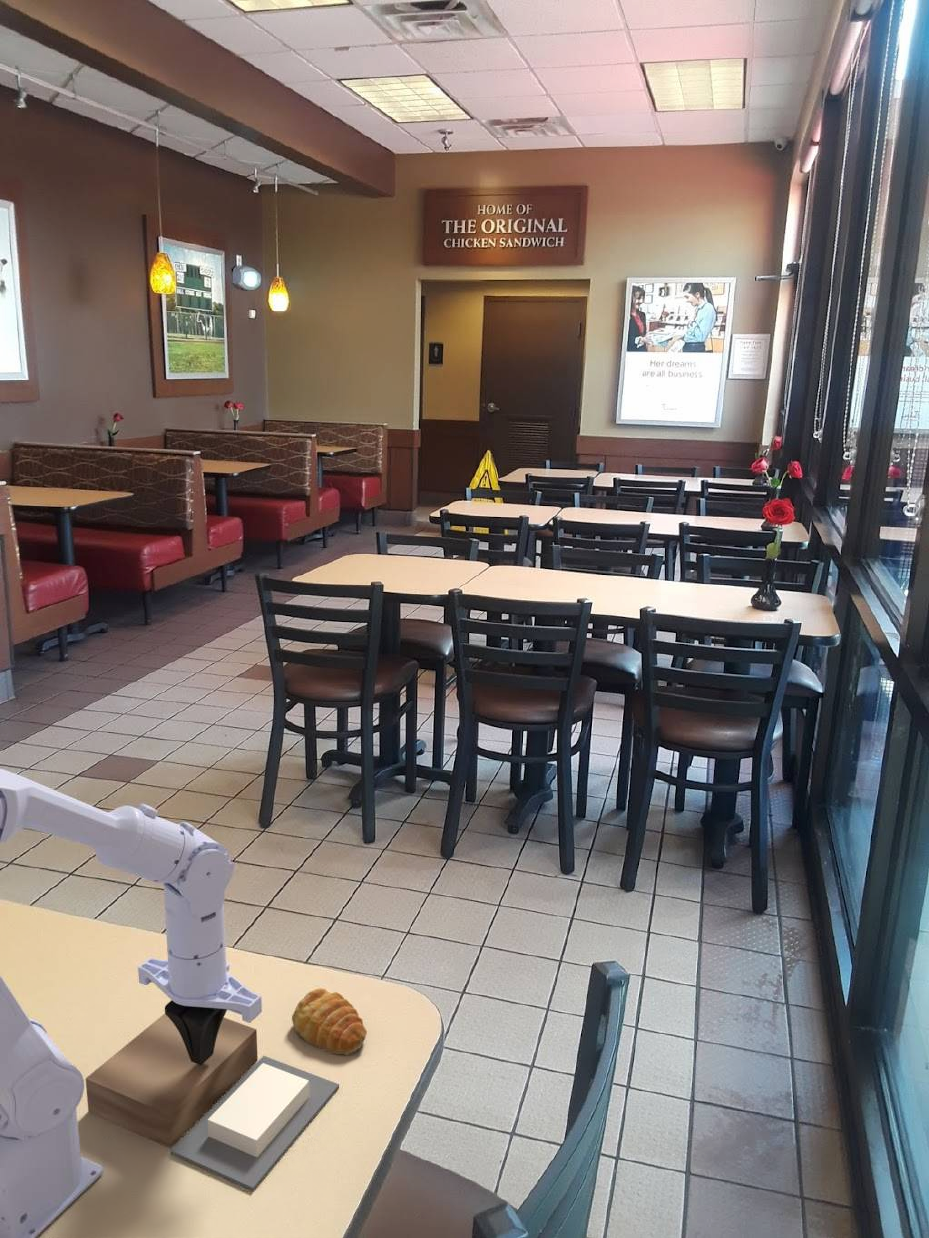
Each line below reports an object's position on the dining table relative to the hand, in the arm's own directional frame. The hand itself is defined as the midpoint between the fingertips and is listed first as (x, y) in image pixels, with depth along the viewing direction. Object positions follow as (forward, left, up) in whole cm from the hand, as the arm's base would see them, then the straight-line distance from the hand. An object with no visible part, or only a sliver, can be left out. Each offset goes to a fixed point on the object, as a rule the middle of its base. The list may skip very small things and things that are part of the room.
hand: (202, 1057), depth 98 cm
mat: (0, -7, -5) cm, 9 cm away
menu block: (0, -7, -2) cm, 8 cm away
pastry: (+15, -6, -5) cm, 17 cm away
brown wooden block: (0, +4, -5) cm, 6 cm away
